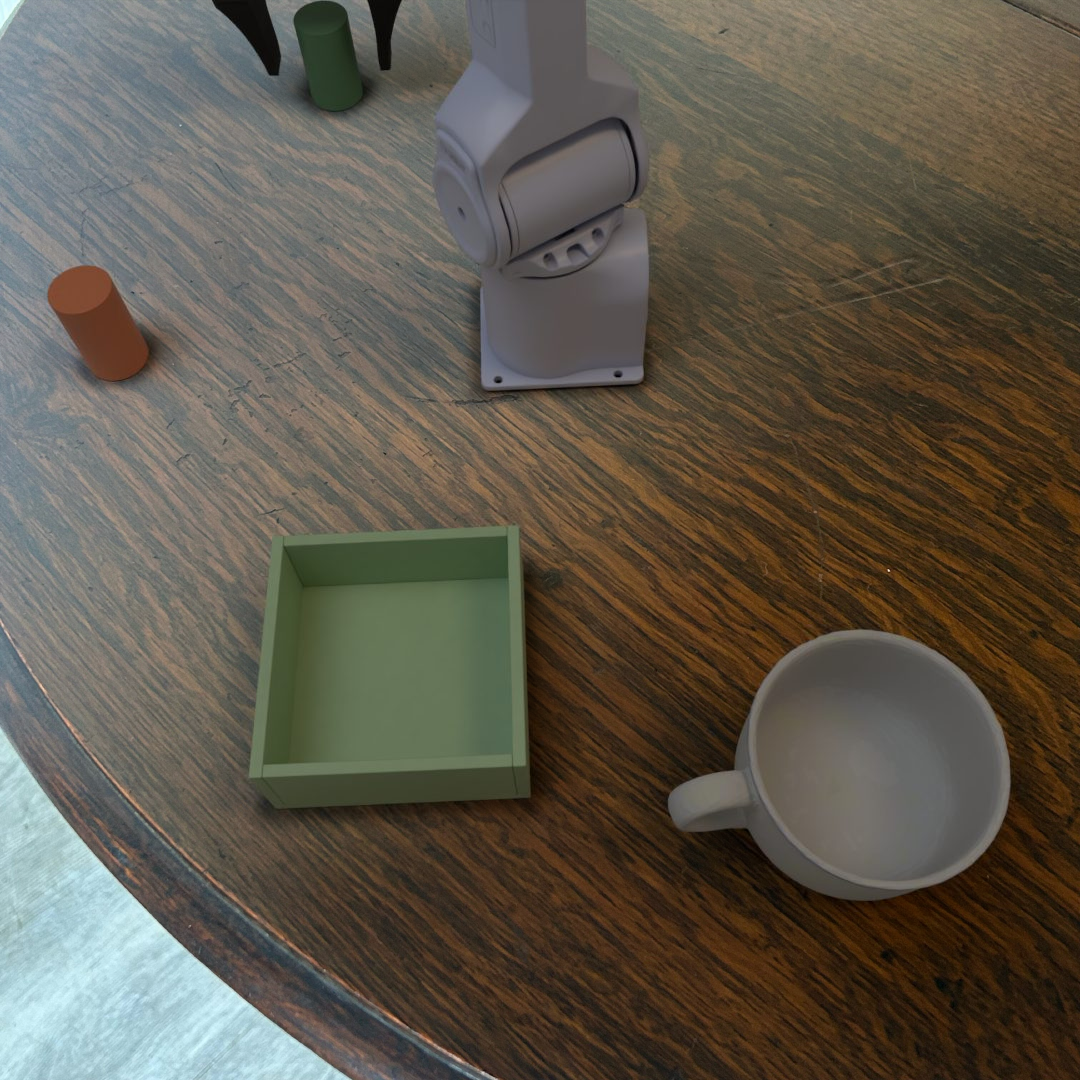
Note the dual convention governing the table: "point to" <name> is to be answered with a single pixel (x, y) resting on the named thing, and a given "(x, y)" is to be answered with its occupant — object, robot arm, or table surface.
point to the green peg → (328, 55)
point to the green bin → (393, 669)
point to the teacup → (861, 769)
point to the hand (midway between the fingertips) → (330, 63)
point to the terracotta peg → (98, 322)
